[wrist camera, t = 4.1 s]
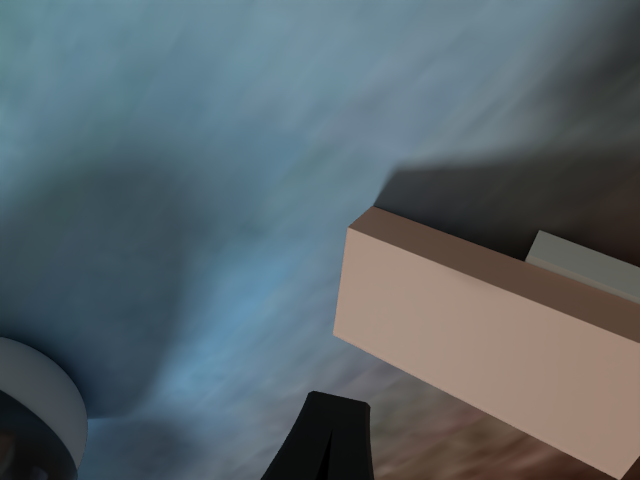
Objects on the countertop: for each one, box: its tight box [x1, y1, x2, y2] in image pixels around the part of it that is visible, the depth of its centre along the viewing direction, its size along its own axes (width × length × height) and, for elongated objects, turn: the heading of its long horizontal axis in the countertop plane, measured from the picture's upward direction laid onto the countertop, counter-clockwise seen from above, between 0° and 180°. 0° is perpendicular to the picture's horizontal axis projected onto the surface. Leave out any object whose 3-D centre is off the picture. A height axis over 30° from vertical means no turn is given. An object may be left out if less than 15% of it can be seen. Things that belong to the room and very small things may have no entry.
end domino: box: [333, 206, 640, 480], centre depth 14 cm, size 2×4×9 cm
